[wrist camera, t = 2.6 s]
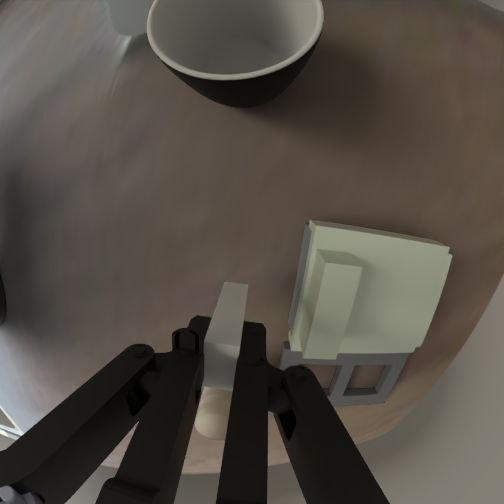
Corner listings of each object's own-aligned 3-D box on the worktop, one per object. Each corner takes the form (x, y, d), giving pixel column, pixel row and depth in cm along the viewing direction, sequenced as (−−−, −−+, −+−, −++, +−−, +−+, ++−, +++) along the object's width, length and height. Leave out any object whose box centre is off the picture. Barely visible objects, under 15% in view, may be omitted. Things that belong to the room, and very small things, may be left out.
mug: (315, 104, 19) (354, 57, 10) (208, 135, 20) (168, 109, 11) (266, -3, 16) (267, -74, 7) (171, 26, 17) (127, -34, 8)
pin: (211, 370, 27) (195, 436, 18) (212, 343, 26) (194, 411, 17) (245, 374, 27) (239, 442, 18) (249, 348, 26) (243, 418, 17)
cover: (288, 334, 23) (294, 374, 18) (309, 219, 20) (325, 235, 15) (408, 338, 23) (431, 370, 18) (439, 241, 21) (475, 259, 15)
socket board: (270, 397, 28) (271, 404, 27) (283, 341, 25) (284, 349, 24) (381, 396, 28) (384, 402, 27) (406, 345, 26) (410, 351, 24)
